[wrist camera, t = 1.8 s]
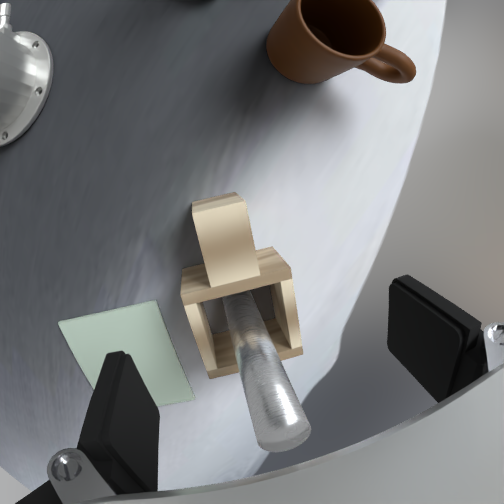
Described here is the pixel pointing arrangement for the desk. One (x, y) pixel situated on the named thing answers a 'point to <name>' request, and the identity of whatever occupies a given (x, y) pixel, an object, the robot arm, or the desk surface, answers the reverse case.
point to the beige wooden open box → (235, 282)
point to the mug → (334, 42)
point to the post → (264, 378)
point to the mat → (130, 348)
